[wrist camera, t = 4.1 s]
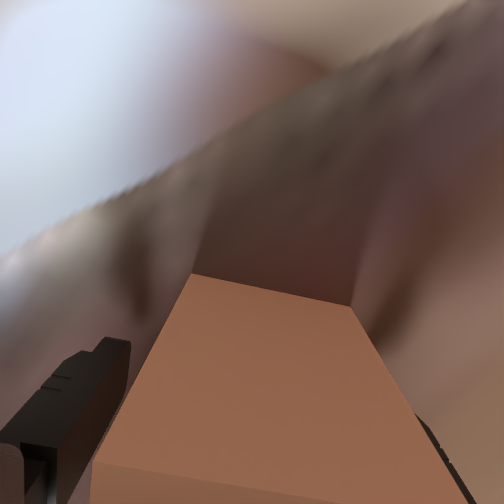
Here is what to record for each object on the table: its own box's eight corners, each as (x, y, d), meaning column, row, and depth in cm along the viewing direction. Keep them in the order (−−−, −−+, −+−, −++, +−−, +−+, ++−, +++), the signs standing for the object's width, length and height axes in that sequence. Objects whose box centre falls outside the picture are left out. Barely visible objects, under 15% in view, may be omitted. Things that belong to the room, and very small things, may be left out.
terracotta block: (349, 305, 11) (482, 527, 4) (305, 426, 12) (357, 706, 6) (191, 272, 10) (92, 461, 4) (169, 400, 12) (76, 671, 6)
